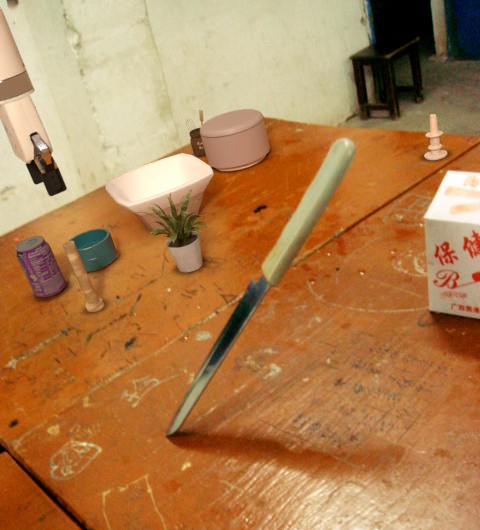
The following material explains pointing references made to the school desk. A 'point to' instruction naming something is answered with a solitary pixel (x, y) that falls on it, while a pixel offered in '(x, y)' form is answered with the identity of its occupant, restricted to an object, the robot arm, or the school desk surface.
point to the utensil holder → (197, 139)
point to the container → (235, 139)
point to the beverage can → (40, 266)
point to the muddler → (83, 278)
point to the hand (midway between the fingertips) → (50, 187)
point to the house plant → (181, 235)
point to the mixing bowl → (95, 248)
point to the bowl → (161, 187)
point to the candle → (434, 141)
